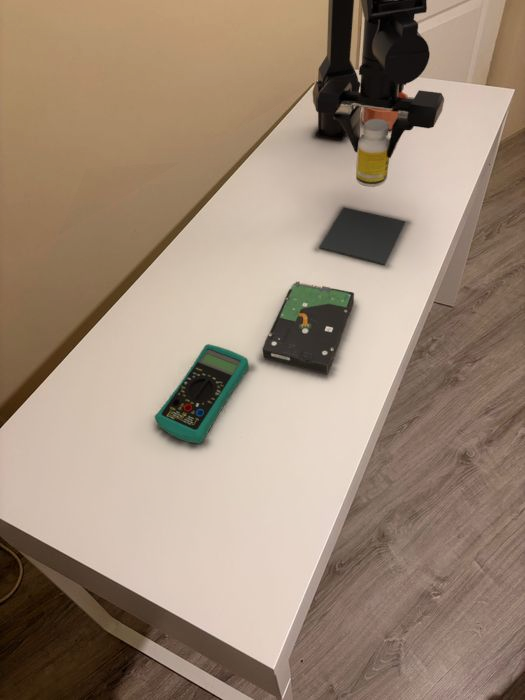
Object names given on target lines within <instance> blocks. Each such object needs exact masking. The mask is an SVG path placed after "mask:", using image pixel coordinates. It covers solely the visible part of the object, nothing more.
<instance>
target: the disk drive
mask: <svg viewBox="0 0 525 700" xmlns="http://www.w3.org/2000/svg"><path fill="white" fill-rule="evenodd" d="M354 302H355V292H352V291H348V290H342V289H338V288H333V287H329V286H325V285H322V286H317V285H314V284H308V283H303V282H301V283H300V281H295V283H293V284H292V285H291V286H290V288H289V290H288V291H287V293H286V296H285V299H284V301H283V303H282V304H281V307H280V309H279V310H278V313H277V316H276V319H275V320H274V322H273V324H272V326H271V329H270V331H269V333H268V335H267V337H266V338H265V341H264V344H263V347H262V349H261V350H262V354H263V359H266V360H267V359H268V360H270V361H274V362H278V363H281V364H286V365H290V366H294V367H297V368H302V369H305V370H308V371H313V372H317V373H322V374H326V375H329V373H330V370H331V367H332V365H333V363H334V360H335V356H336V353H337V352H338V351H337V350H338V348H339V345H340V342H341V340H342V337H343V333H344V330H345V328H346V325H347V322H348V319H349V318H350V317H349V316H350V315H351V311H352V308H353V305H354Z"/></svg>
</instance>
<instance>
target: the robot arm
mask: <svg viewBox="0 0 525 700" xmlns="http://www.w3.org/2000/svg"><path fill="white" fill-rule="evenodd" d="M427 2H428V0H360V4H361V7H362V8H361V9H362V14H363V18H364V23H363V35H362V36H363V39H362V53H361V65H359V68H358V74H357V72H356V69H355V67H354V64H353V63H352V61H351V50H352V39H353V38H352V35H353V23H354V7H355V0H328V5H327V6H328V9H327V39H326V46H327V47H326V56H325V58H324V59H323V61H322V62H321V64H320V65H319V67H318V70H317V71H318V72H317V80H316V81H315V83H314V86H313V88H312V102H313V105H314V108H315V111H316V113H317V130H316V132H314V136H315V137H317V138H324V139H329V140H335V141H340V142H341V141H343V140H344V139H345V138H346V136H347V137H348V139H349V143H350V144H351V146H352V149H353V151H354V153H357V151H358V141H359V138H360V137H361V115H362V107H367V108H374V109H381V110H389V111H396V112H398V115H399V116H398V117H397V119H396V121H395V122H394V124H393V126H392V129H391V132H390V136H389V137H390V143H389V148H388V158H389V159H391V158H392V156H393V154H394V152H395V150H396V147H397V146H398V143H399V141H400V139H401V137H402V135H403V134H404V132H405V131H411V130H413V128H414V127H417V128H424V129H432V128H434V127H435V125H436V123H437V122H438V120H439V118H440V115H441V114H442V112H443V109H444V103H445V97H444V95H443V94H442V92H436V91H430V90H429V91H428V90H421V89H419V90H418V91H417V92H416V94H415V95H414V97H411V96H408V97H407V98H400V97H398V92H400V93H401V92H404V88H405V86H406V85H407V84H409V83H412V82H413V81H415V80H417V79H418V78H419V77H420V76H422V74H423V72H424V71H425V70H426V68H427V66H428V64H429V60H430V55H431V53H430V47H429V45H428V43H427V41H426V39H425V38H424V37H423V36H422V35H421V34H420V32H419V23H418V22H417V20H415V15H419V14H425V13H427V9H428V5H427ZM358 76H360V81H359V77H358Z"/></svg>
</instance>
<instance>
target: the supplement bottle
mask: <svg viewBox="0 0 525 700" xmlns="http://www.w3.org/2000/svg"><path fill="white" fill-rule="evenodd" d="M390 137H391V136H390V135H389V124H388V122H386V121H385V120H381V119H372V120H369V121H367V122H366V123H365V124H364V123H363V129H362V134H361V135H360V138H359V141H358V151H357V152H356V166H355V180H356V183H358V184H359V185H361V186H363V187H367V188H375V187H379V186H382V185H383V184H384V183H386V181H387V180H388V173H389V164H390V158H388V148H389V143H390Z"/></svg>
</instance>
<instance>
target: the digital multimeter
mask: <svg viewBox="0 0 525 700" xmlns="http://www.w3.org/2000/svg"><path fill="white" fill-rule="evenodd" d="M249 368H250V365H249V361H248V358H247V357H245V356H243V355H241V354H240V353H237V352H234V351H232V350H230V349H227V348H224V347H220V346H217V345H213V344H210V343H207V344H205V345H204V347H203V348H202V350H201V351H200V353H199V355H198V356H197V358H196V359H195V360H194V362H193V364H192V366H191V367H190V369H189V370H188V372H187V373H186V375H184V377H183V379H182V380H181V381H180V383H179V384H178V385H177V387H176V388H175V390H174V391H173V392H172V394H171V395H170V396H169V398H168V399H167V400H166V402H165V403H164V404H163V406H161V408H160V409H159V411H157V413H156V414H155V415H154V420H155V422H156V424H157V425H158V426H159V427H160V428H161V429H162V430H163V431H165V432H166V433H167V434H169V435H171V436H172V437H174V438H176V439H178V440H181V441H184V442H188V443H194V444H201V443H203V442H204V440H205V438H206V436H207V434H208V432H209V430H210V429H211V427H212V425H213V423H214V422H215V420H216V418H217V417H218V415H219V413H220V412H221V410H222V408H223V407H224V405H225V404H226V402H227V401H228V399H229V397H230V396H231V394H232V393H233V391H234V390H235V388H236V387H237V386H238V384H239V383H240V381H241V380H242V378H243V377H244V376H245V374H246V373H247V372H248V371H249Z"/></svg>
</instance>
